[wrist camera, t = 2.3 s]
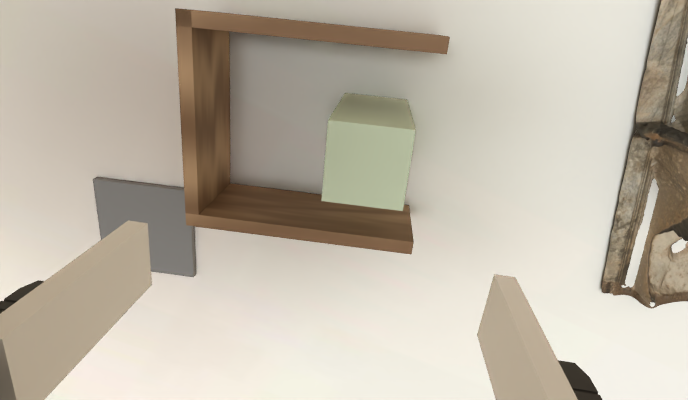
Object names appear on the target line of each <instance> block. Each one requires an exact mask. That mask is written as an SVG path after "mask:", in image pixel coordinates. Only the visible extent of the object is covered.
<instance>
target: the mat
mask: <svg viewBox="0 0 688 400" xmlns="http://www.w3.org/2000/svg"><path fill="white" fill-rule="evenodd" d="M93 183H94V191H95V198H96V206H97V213H98V221H99V228H100V235H101V240H102V239H103V238H105V237H106V236H108V235H109V234H110V233H112V232H113V231H114V230H116V229H117V228H119V227H120V226H121V225H123V224H124V223H125V222H127V221H128V220H129V221H136V222H142V223H148V236H149V251H150V266H151V271H152V272H159V273H167V274H174V275H182V276H189V277H194V276H195V275H196V259H195V235H194V226H188V225H186V214H185V194H184V188H180V187H172V186H164V185H156V184H148V183H140V182H132V181H124V180H116V179H108V178H100V177H96V178H94V179H93Z"/></svg>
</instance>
